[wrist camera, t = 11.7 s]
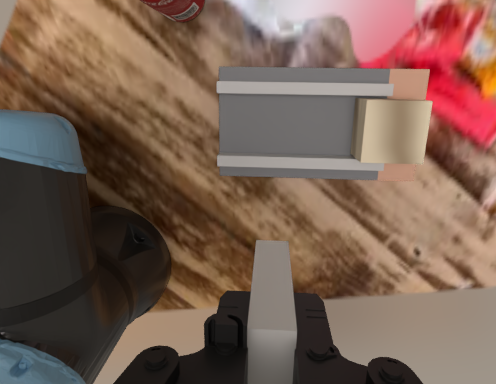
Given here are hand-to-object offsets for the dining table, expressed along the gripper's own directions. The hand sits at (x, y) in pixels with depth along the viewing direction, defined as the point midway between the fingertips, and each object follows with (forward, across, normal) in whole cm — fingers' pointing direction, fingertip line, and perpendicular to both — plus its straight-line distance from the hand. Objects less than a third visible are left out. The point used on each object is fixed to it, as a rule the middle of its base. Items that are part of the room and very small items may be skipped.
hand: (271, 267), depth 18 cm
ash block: (+26, +12, +4) cm, 28 cm away
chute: (+26, +5, +4) cm, 27 cm away
